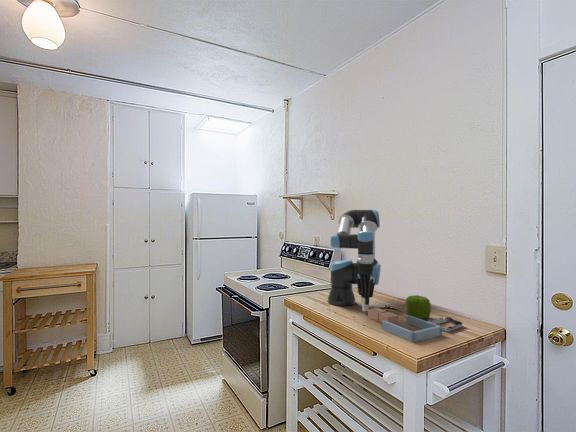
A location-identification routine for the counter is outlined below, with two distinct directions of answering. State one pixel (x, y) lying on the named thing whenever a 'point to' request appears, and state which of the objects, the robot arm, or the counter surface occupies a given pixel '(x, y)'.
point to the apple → (418, 306)
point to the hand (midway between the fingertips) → (365, 310)
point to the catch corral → (427, 331)
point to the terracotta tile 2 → (388, 317)
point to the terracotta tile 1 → (375, 313)
